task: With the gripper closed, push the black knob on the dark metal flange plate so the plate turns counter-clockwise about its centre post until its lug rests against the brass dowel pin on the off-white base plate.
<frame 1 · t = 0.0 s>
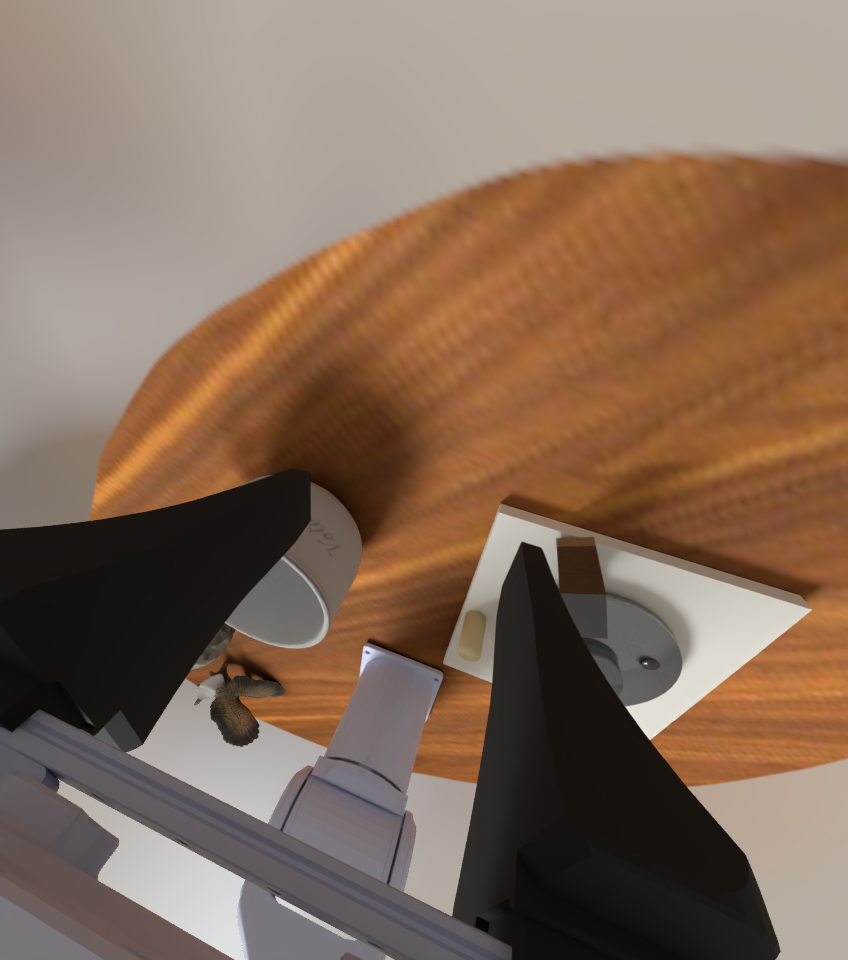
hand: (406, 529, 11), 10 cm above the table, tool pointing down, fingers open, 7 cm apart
fossil: (213, 587, 37), on the table
teacup: (299, 511, 27), on the table
flange plate: (585, 656, 21), point 3 cm above the table, hinge at 0.0°
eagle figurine: (253, 675, 45), on the table
base plate: (581, 631, 25), on the table
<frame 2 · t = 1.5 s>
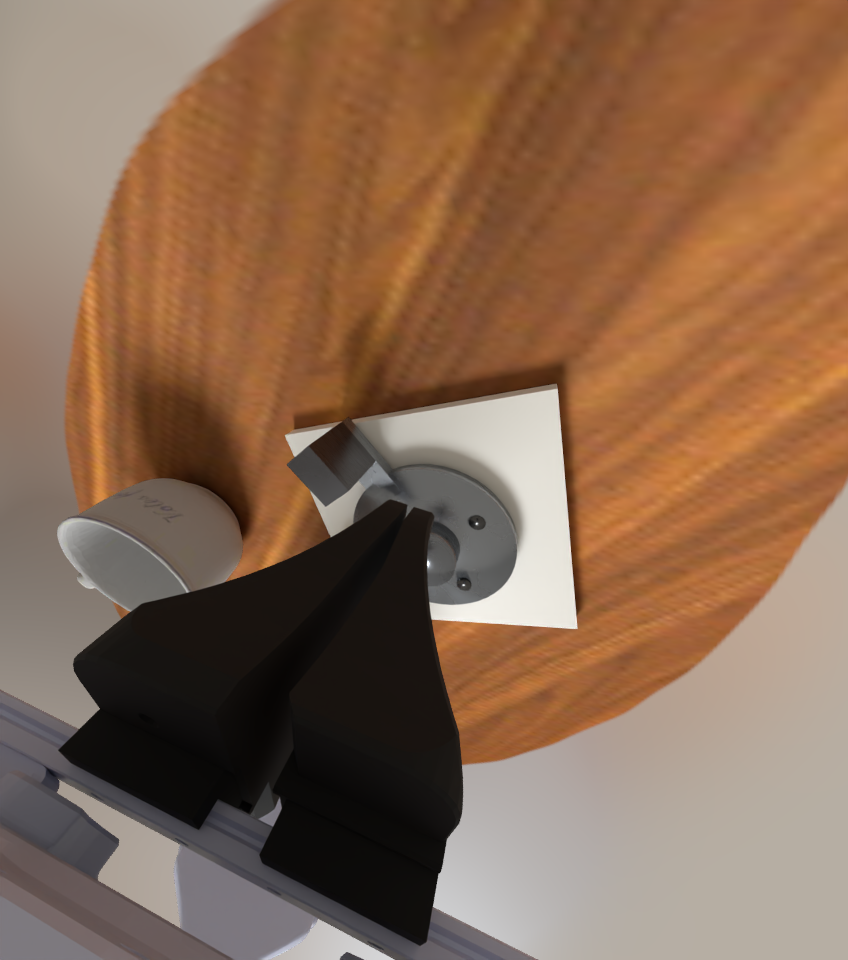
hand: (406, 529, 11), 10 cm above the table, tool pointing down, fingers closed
teacup: (200, 515, 32), on the table
flange plate: (404, 535, 21), point 3 cm above the table, hinge at 0.0°
base plate: (437, 525, 24), on the table
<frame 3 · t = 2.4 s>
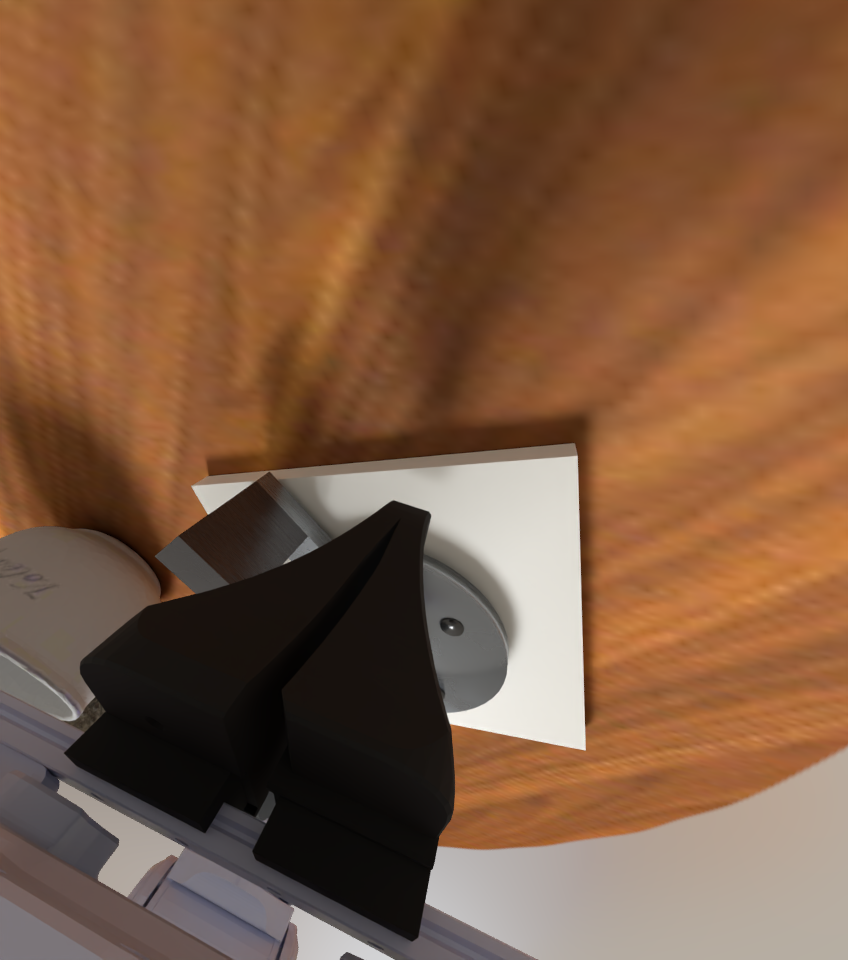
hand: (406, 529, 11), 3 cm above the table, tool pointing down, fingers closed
fossil: (136, 669, 36), on the table
teacup: (114, 564, 25), on the table
flange plate: (348, 640, 15), point 3 cm above the table, hinge at 0.0°
base plate: (403, 607, 18), on the table
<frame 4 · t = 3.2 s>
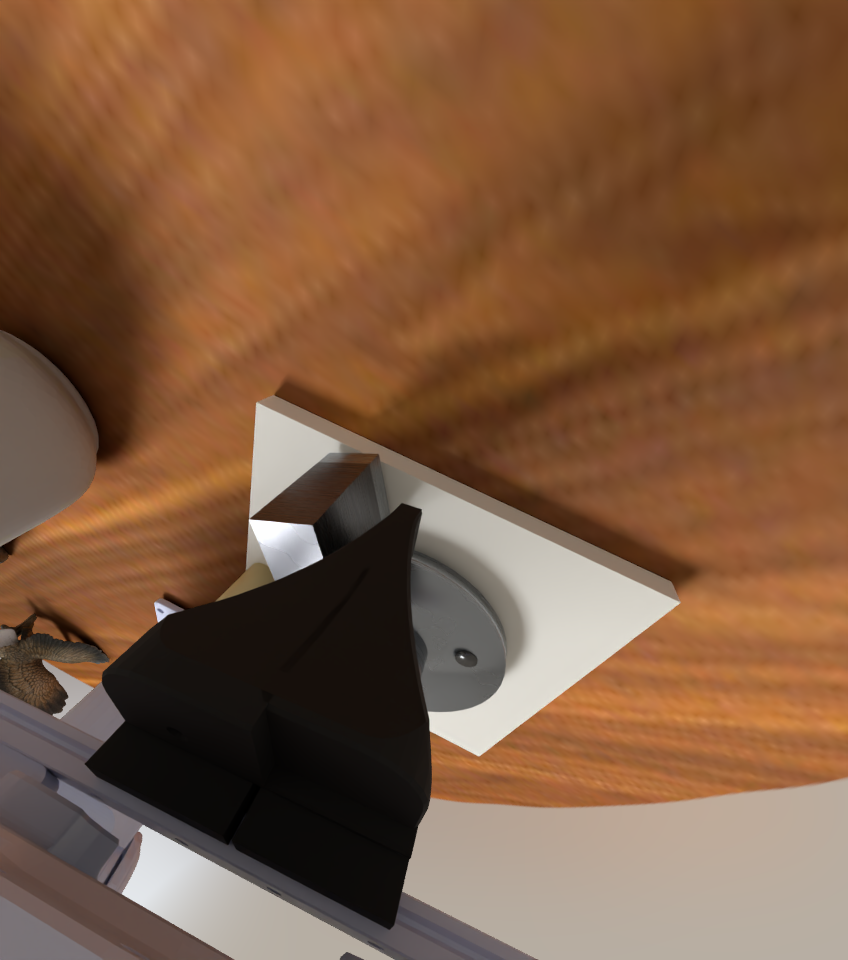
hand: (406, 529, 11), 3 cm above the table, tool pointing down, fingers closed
teacup: (29, 391, 18), on the table
flange plate: (367, 639, 14), point 3 cm above the table, hinge at 1.4°, touching gripper
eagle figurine: (72, 634, 36), on the table
base plate: (401, 607, 18), on the table
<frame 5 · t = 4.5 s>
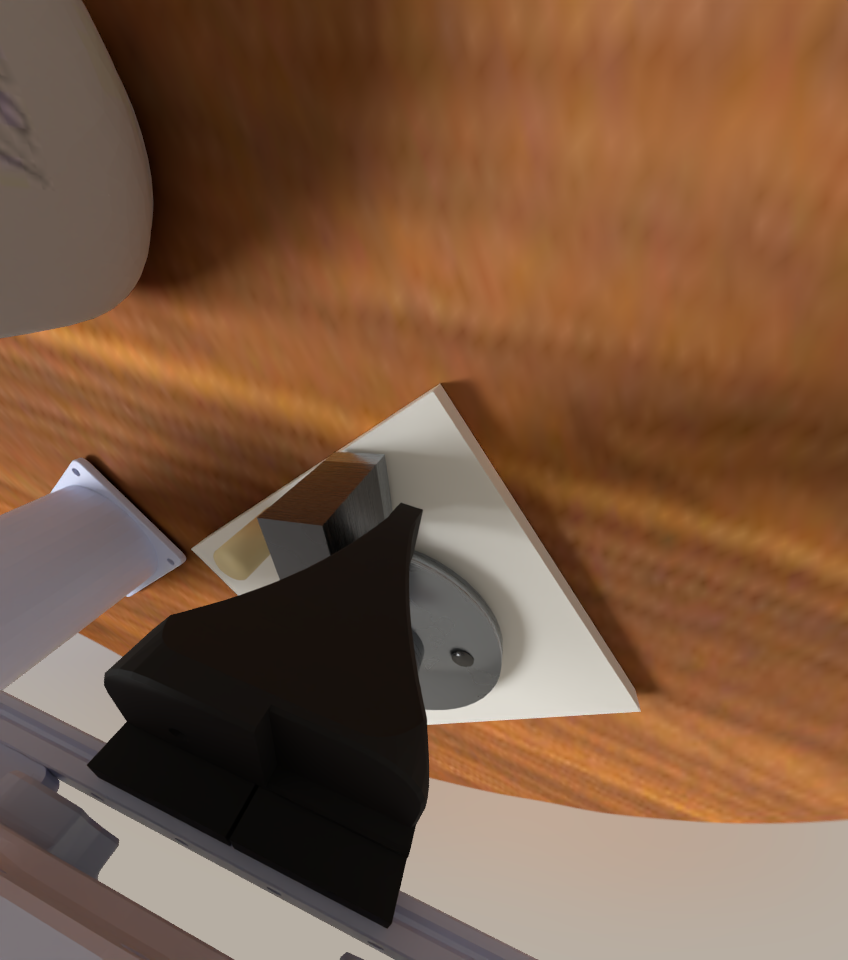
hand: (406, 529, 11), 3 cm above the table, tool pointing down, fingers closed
teacup: (39, 105, 11), on the table
flange plate: (366, 637, 14), point 3 cm above the table, hinge at 33.6°, touching gripper
base plate: (398, 606, 18), on the table
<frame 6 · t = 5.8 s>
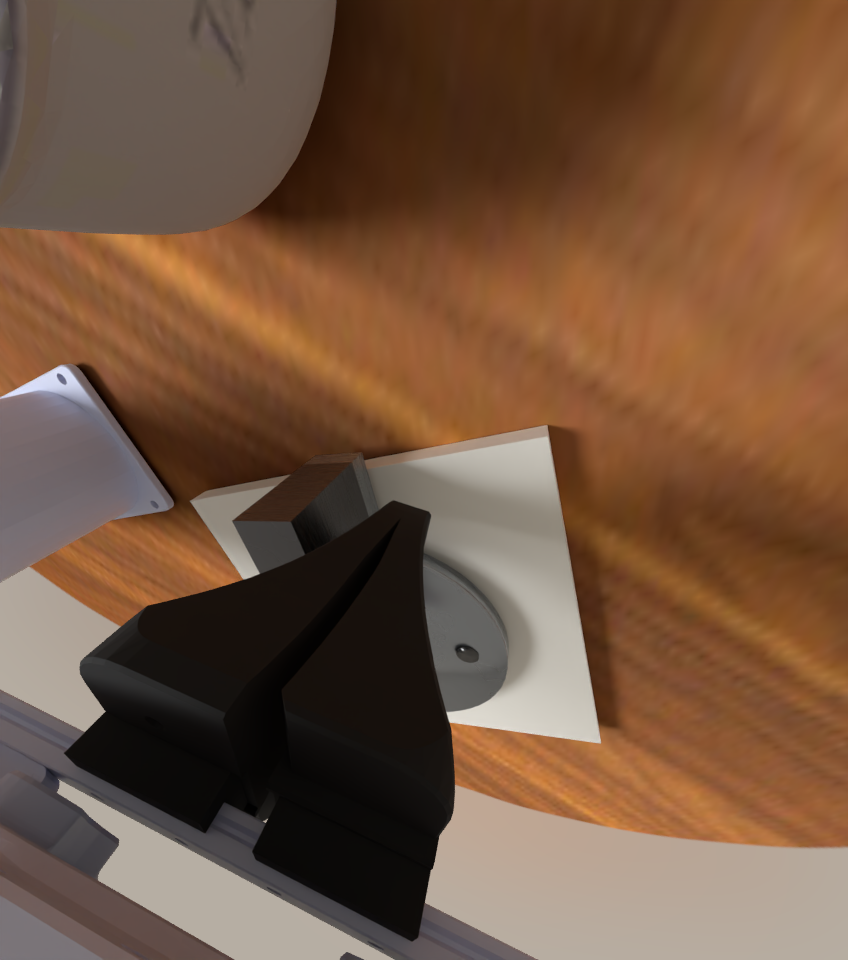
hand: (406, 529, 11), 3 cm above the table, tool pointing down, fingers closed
flange plate: (366, 638, 14), point 3 cm above the table, hinge at 57.7°
base plate: (403, 607, 18), on the table
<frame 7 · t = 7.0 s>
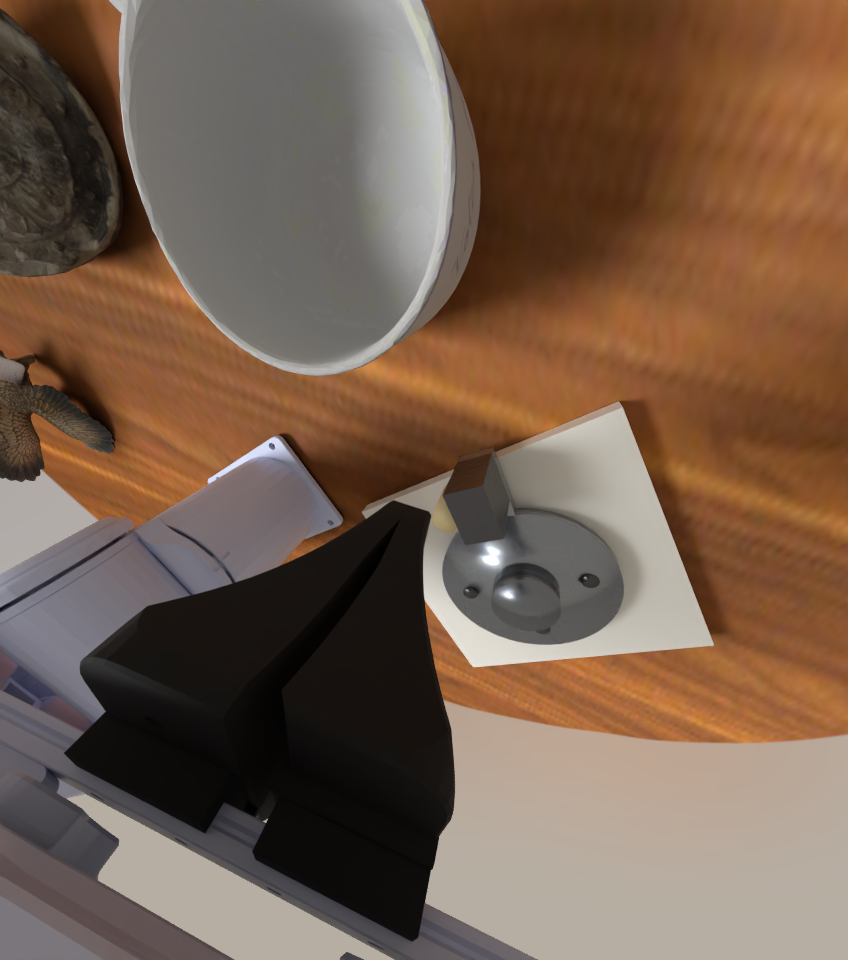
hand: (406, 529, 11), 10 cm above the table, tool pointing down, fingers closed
fossil: (68, 170, 20), on the table
teacup: (362, 189, 16), on the table
flange plate: (515, 578, 20), point 3 cm above the table, hinge at 57.7°
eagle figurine: (72, 403, 29), on the table
base plate: (526, 564, 24), on the table
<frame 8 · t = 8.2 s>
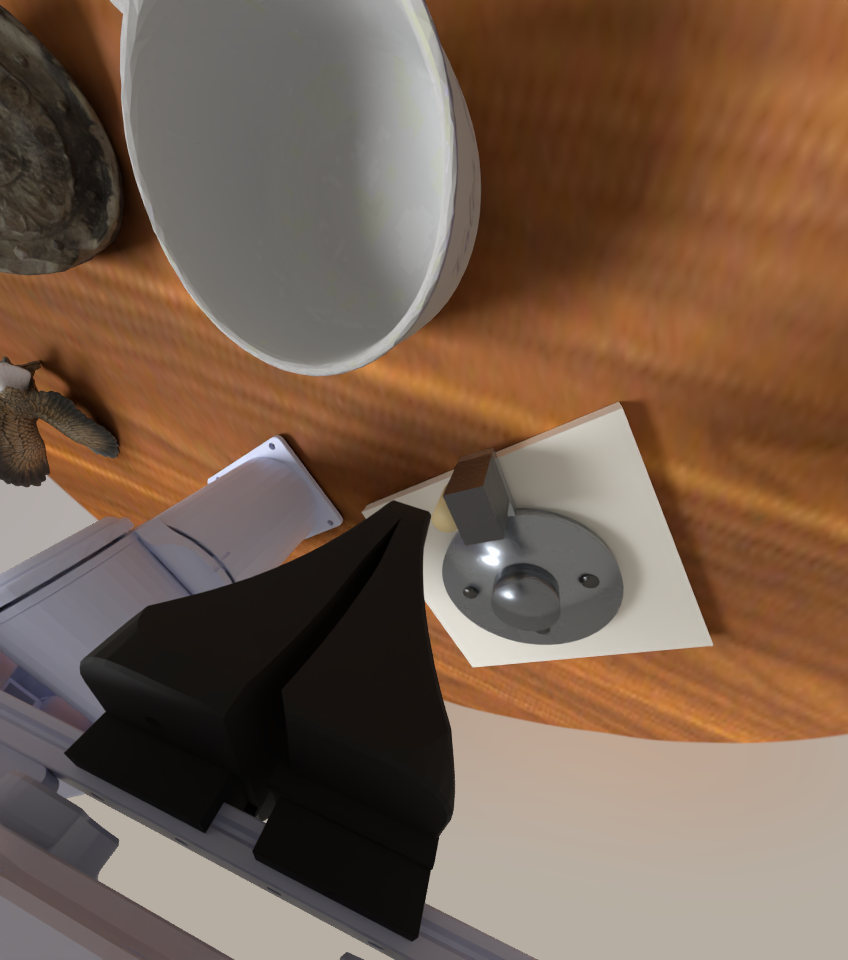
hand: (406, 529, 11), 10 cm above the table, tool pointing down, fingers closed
fossil: (69, 168, 20), on the table
teacup: (362, 190, 16), on the table
flange plate: (514, 579, 20), point 3 cm above the table, hinge at 57.7°
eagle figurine: (77, 408, 29), on the table
base plate: (526, 564, 24), on the table
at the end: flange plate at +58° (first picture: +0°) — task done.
